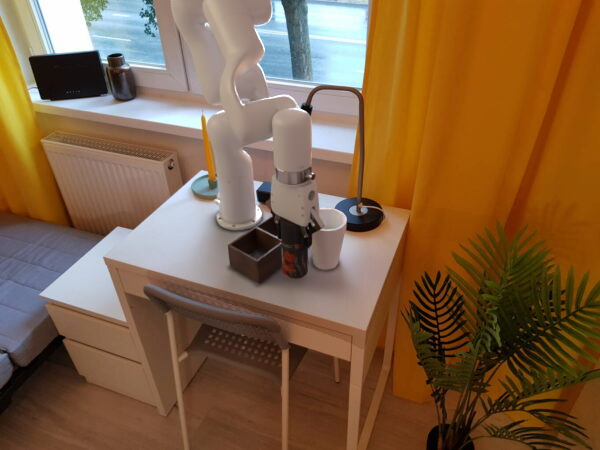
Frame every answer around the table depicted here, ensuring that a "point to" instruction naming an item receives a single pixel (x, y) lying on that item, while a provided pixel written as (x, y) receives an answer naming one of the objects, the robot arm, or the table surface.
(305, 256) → the deodorant
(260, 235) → the organiser
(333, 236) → the foam cup
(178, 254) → the table surface
